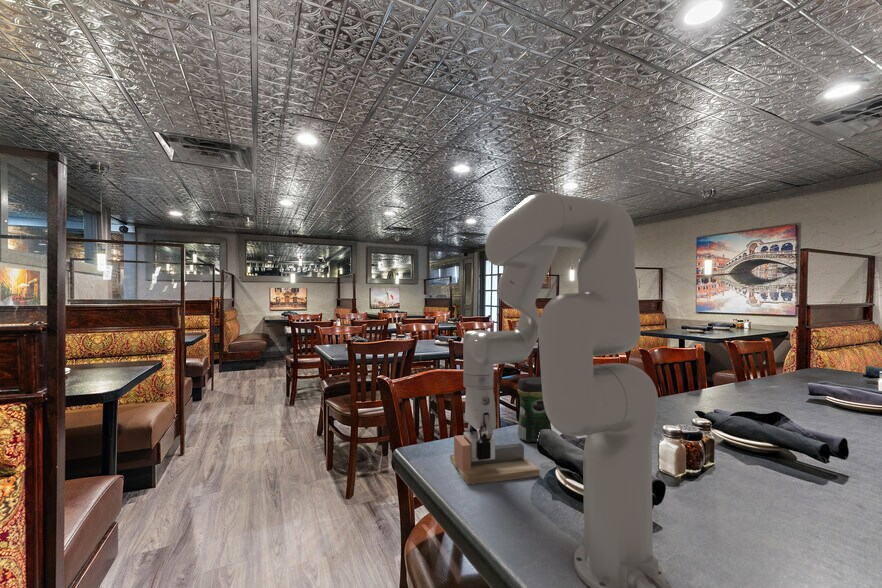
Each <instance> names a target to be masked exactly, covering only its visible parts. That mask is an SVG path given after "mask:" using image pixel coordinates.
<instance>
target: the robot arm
mask: <svg viewBox="0 0 882 588" xmlns="http://www.w3.org/2000/svg"><path fill="white" fill-rule="evenodd" d="M635 230H636V229H635V224H634V222H633V219H632V216H631V215H630V214H629V213H628V211H627V210H626V209H625V208H623V207H622V206H621V205H618V204H616V203H613V202H609V201H604V200H599V199H593V198H587V197H581V196H570V195H563V194H558V193H557V194H556V193H552V192H551V193H550V192H540V193H539V192H538V193H534V194H532V195H529V196H527V197H526V198H525V199H523V200H522V201H521V202H519V204H517V205H516V206H515V207H513V208H512V209H511V210H510V211H509V212H507V213H506V214H505V215H503V217H500V219H499V220H498V221H497V222H496V223H495V224H494V226H493V227H492V228H491V230H490V231H489V234H488V235H487V238H486V240H485V247H484V248H485V249H484V251H485V256H486V258H487V260H488V262H489V263H490V264H492V265H494V266H498V267H504V268H503V272H502V274H501V277H500V280H499V282H498V284H497V288H496V293H497V296H498V298H499V299H500V301H502V302H503V303H504V304H505V305H507V306H509V307H511V308H513V309H514V310H517V311H519V312H520V316H519V318H518V322H517V325H516V327H515V328H514V330H499V331H498V330H497V331H495V330H494V331H489V330H484V329H482V330H481V329H479V330H478V329H476V330H475V329H474V330H467V331H465V332H464V333H463V338H462V339H463V340H462V342H463V343H462V345H463V346H462V347H463V348H462V349H463V350H462V351H463V352H462V353H463V354H462V355H463V358H462V359H463V362H462V363H463V366H462V367H463V368H462V369H463V371H462V372H463V375H462V377H463V387H464V388H465V395H464V396H465V402H464V415H465V419H466V422H467V424H468V425H467V432H473V431H477V432H478V440H479V442H477V458H478V460H485V459H490V458H491V437H492V436H493V434H494V430H496V428H497V420H496V419H497V418H496V414H497V413H496V402H495V400H496V399H495V393H494V387H495V374H494V373H495V370H494V369H495V367H494V366H495V365H503V364H515V363H517V364H518V363H521V362H524V361H525V360H527V359H528V358H529V356H530V355H531V354H532V352H533V350H534V348H535V345H536V343H537V341H538V350H539V351H538V352H539V363H540V364H539V366H540V367H539V368H540V377H541V385H542V396H543V403H544V408H545V411H546V414H547V417H548V419H549V420H550V423H551V426H553V427H554V429H556V430H557V431H558V432H559V433H561V434H564V435H566V436H569V437H582V436H583V437H584V436H586V438H585V441H584V445H583V457H582V458H583V459H582V460H583V461H582V462H583V465H582V466H583V467H582V468H583V469H582V472H583V473H582V474H583V475H582V476H583V481H582V482H583V484H582V485H583V543H582V544H581V545H579V546H578V547H577V548H576V549H575V551H574V554H573V567H574V570H575V571H576V574H577V575H578V576H579V578H580V579H581V580H582V581H583V583H585V585H587V586H588V587H589V588H672V585H670V584H668V583H667V580H666V576H665V573H664V571H663V570H662V568H661V567H660V566H659V560H658V559H657V558H655V557H654V542H653V541H654V539H653V538H654V537H653V536H654V534H653V532H654V531H653V525H654V524H653V442H654V432H655V428H656V424H657V423H656V421H657V417H658V412H659V397H658V396H659V395H658V390H657V388H656V385H655V383H654V381H653V380H652V378H651V377H650V376H649V375H648V373H646V372H645V371H644V370H643V369H641V368H639V367H637V366H635V365H632V364H629V363H621V362H619V363H618V362H611V363H601V364H594V357H600V356H612V355H620V354H623V353H624V354H625V353H628V352H630V351H631V350H633V349H634V348H635V347H636V346H637V345H638V344H639V342H640V339H641V329H642V328H641V315H640V304H639V301H640V300H639V293H638V291H639V289H638V280H637V274H636V261H635V260H636V259H635V258H636V257H635V256H636V255H635V253H636V252H635V249H636V248H635V247H636V232H635ZM559 247H561V248H581V249H584V251H583V252H582V254H581V256H580V259H579V261H578V265H577V271H576V272H577V273H576V274H577V275H576V277H577V282H578V284H577V287H578V288H577V289H578V291H577V292H575V293H574V292H570V293H569V292H567V293H562V294H558V295H556V296H554V297H552V298H551V299H549V301H548V302H547V303H546V304H545V306H544V308H543V309H542V312H541V314H540V313H539V310H538V307H537V305H536V301H537V298H538V296H539V294H540V291H541V289H542V287H543V285H544V282H545V280H546V278H547V275H548V272H549V270H550V268H551V266H552V264H553V260H554V259H555V256H556V254H557V252H558V248H559ZM482 427H483V428H482ZM481 432H485V434H483V436H482V435H481Z"/></svg>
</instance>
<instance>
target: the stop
mask: <svg viewBox="0 0 882 588" xmlns="http://www.w3.org/2000/svg"><path fill="white" fill-rule="evenodd" d="M453 446H454V447H453V449H454V451H453V452H454V460H455V462H456V463H457V465H458V466H459V467H460V469H461V470H462V471H463V472H465V471H471V445H470V444H469V443H468V442H467V441H466V440H465V438H464V435H454V436H453Z"/></svg>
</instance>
